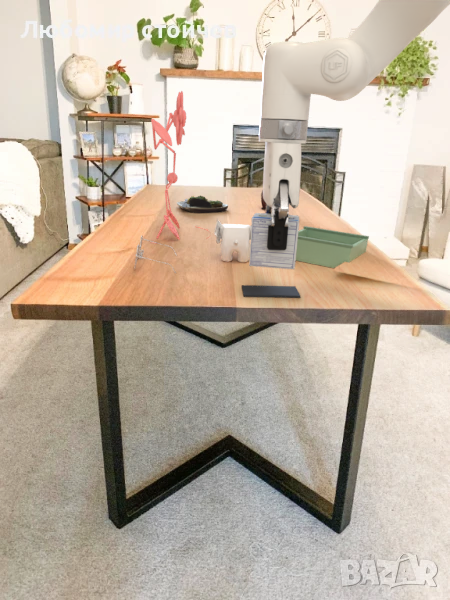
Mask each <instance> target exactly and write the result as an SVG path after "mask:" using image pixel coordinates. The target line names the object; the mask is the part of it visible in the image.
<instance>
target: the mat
mask: <svg viewBox="0 0 450 600" xmlns="http://www.w3.org/2000/svg"><path fill="white" fill-rule="evenodd" d="M241 291H242V295H243V298H281V299H282V298H284V299H285V298H286V299H287V298H291V299H300V298H301V294H300V292H299V291H298V289H297V287H296V286H295V285H291V286H290V285H257V284H255V285H254V284H253V285H251V284H250V285H249V284H241Z"/></svg>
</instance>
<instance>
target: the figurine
mask: <svg viewBox="0 0 450 600" xmlns="http://www.w3.org/2000/svg"><path fill="white" fill-rule="evenodd" d="M175 103H176V104H175V105H176V106H175V108H176V109H174V112H173V113H172V112H169V114H168V115H169V116H168V119H167V123H166V126H165V127H164V126H163V125H162V124H161V123H160V122H159V121H157V120H155V118H151V119H150V122H151V129H152V140H153V148H154V150H157V149H158V148H159V146H160V144H162V145H163V146H164V147H165V148H167V149H168V151H170V152H172V154H173V163H172V169H173V170H172V172H169V173H168V174H167V176H166V180H167V182H168V183H167V184H166V185H165V190H164V196H165V210H166V211H165V212H166V215H165V214H164V215H163V223H162V225H161V227H160V229H159V231H158V233H157V234H156V238H155V239H157V240H158V239H159V238H160V236H161V234H162V232H163V230H164V228H165V226H167V228H168V229H169V230H170V232H171V233H172V235H174V237H176V239H177V240H179V241H180V239H181V238H180V235H179V233H178V230H180V229H181V227H180V224H179V221H178V219H177V218H176V216H175V214H173V212H172V209H171V202H170V196H169V189H170V187H171V186H172V184H176V183H177V182H178V179H179V178H178V175H177V173H175V172H176V158H177V152H176V150H174V149H173V148H172V147H173V141H172V137H171V135H170V133H169V130H170V128H171V127H172V124H173V126H174V128H175V141H176V145H177V146H179V145H181V144H182V141H183V136H186V133H185V129H184V128H185V126H186V123H187V113H186V110H185V109H184V92H183V90H181V91H179V92H178V94H177V97H176V102H175ZM156 134H157V135H158V137H159V140H158V142H157V138H156ZM176 227H177V229H178V230H177V229H176ZM196 228H199V229H201V230H204V231H207V232H209V229H208V228H203V227H199V226H196ZM213 234H214V232H213V233H212V235H213ZM212 235H211V234H210V235H209V237H206V240H207V239H209V238H210V237H211V236H212ZM149 242H150V241H149ZM150 244H152V242H150ZM155 244H158V242H156V243H155Z"/></svg>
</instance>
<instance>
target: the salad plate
mask: <svg viewBox="0 0 450 600" xmlns="http://www.w3.org/2000/svg"><path fill="white" fill-rule="evenodd" d="M176 205H177V206H178V207H179V208H180V209H182V210H184V211H185V210H186V212H188V213H192V212H194V213H193V214H214V213H223V212H225V211H227V209H228V208H229V204H227V203H223V202H222V201H221V200H218V199H217V200H212V199H211V200H210V199H208V198H206V197H205V196H203V195H197V196H195V195H191V197H190V196H189V198H185V199H184V200H183V201H177V202H176Z"/></svg>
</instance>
